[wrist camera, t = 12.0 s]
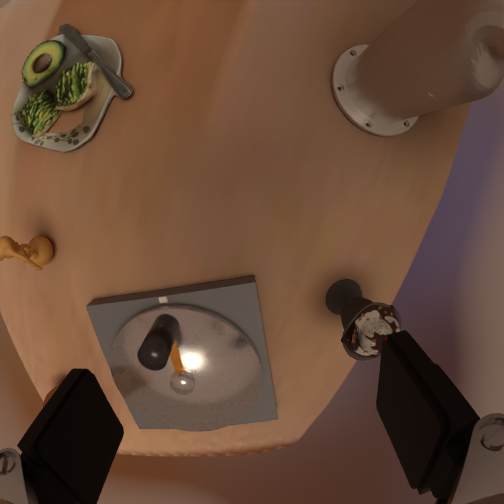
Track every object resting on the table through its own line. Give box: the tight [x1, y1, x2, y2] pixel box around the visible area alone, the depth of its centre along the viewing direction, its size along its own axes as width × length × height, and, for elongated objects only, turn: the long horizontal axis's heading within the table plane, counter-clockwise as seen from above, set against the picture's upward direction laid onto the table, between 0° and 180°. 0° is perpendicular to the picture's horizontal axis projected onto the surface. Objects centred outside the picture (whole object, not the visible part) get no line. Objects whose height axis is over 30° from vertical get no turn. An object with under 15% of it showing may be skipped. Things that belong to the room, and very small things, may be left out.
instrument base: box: [86, 275, 278, 429], centre depth 38 cm, size 22×22×3 cm
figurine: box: [0, 236, 53, 270], centre depth 29 cm, size 8×6×12 cm
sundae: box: [326, 279, 401, 360], centre depth 31 cm, size 7×7×15 cm
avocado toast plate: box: [12, 24, 132, 152], centre depth 28 cm, size 19×18×5 cm
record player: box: [110, 304, 263, 431], centre depth 33 cm, size 20×20×8 cm
